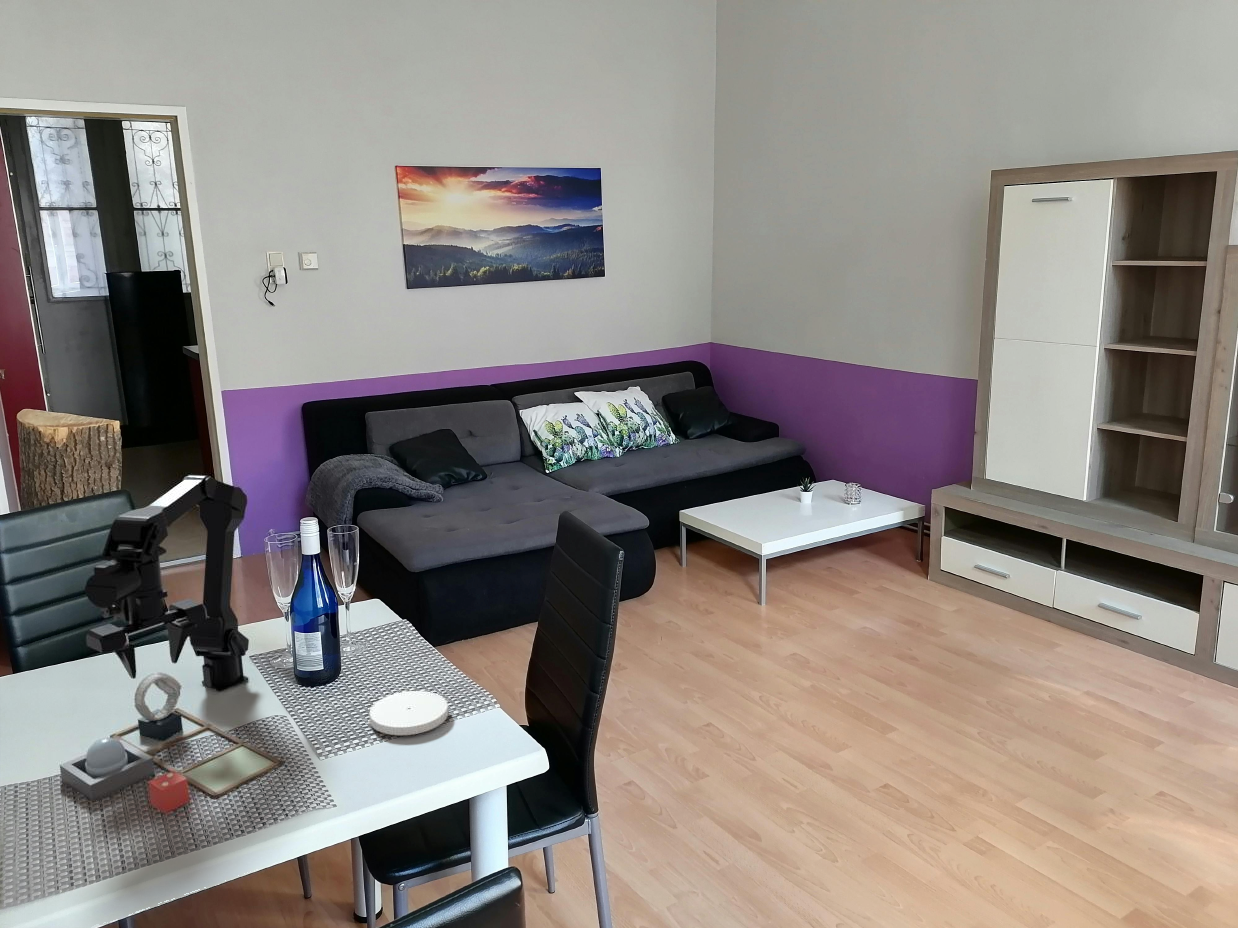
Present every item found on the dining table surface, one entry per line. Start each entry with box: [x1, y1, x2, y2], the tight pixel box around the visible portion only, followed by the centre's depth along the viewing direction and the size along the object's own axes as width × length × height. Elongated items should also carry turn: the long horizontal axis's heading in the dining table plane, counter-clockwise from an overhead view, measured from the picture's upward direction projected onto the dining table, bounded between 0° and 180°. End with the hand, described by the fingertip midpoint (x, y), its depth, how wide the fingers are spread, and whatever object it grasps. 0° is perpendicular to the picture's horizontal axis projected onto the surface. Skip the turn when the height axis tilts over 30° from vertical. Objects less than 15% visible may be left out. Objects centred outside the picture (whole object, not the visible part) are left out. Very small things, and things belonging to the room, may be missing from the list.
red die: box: [147, 771, 191, 814], centre depth 148 cm, size 4×4×4 cm
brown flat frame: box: [109, 707, 284, 799], centre depth 164 cm, size 13×32×1 cm, turn 54°
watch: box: [134, 672, 184, 742], centre depth 169 cm, size 6×8×11 cm
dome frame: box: [59, 739, 156, 803], centre depth 155 cm, size 10×10×3 cm
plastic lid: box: [368, 690, 449, 736], centre depth 174 cm, size 14×14×2 cm
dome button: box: [85, 737, 128, 779], centre depth 155 cm, size 6×6×6 cm
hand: (154, 670), depth 167 cm, fingers open, 7 cm apart
